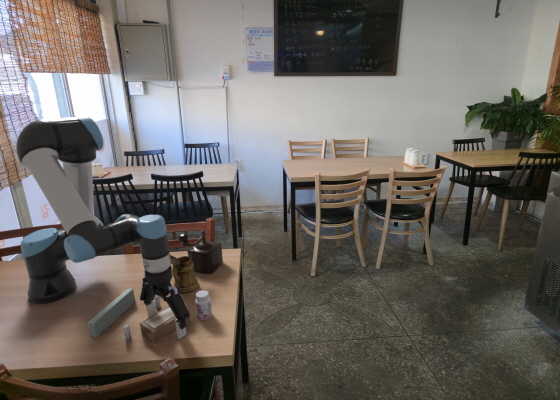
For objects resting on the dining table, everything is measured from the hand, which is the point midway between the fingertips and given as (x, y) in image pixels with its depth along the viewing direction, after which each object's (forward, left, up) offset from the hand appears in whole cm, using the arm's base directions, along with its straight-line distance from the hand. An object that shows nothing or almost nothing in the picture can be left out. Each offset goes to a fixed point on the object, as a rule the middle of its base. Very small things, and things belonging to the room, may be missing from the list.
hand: (167, 328), depth 109 cm
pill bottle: (+9, +8, 0) cm, 12 cm away
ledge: (-15, +2, 0) cm, 15 cm away
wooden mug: (-6, +21, 0) cm, 22 cm away
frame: (0, 0, 0) cm, 0 cm away
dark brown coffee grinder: (-5, +36, 0) cm, 36 cm away
